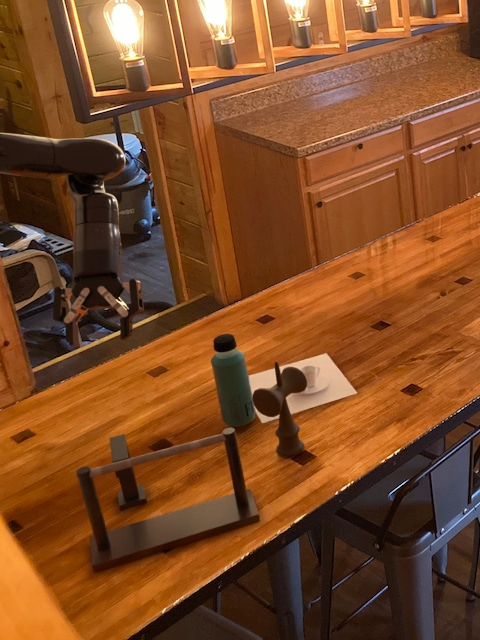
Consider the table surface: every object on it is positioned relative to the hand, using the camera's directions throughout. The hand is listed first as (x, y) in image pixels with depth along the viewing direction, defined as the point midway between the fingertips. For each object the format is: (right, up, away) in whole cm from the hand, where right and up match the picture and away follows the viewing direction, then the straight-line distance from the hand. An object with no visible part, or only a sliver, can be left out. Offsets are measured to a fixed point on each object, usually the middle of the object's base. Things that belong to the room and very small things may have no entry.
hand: (99, 342), depth 165 cm
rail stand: (+15, -32, -3) cm, 35 cm away
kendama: (+27, -23, +18) cm, 40 cm away
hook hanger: (+4, -29, +3) cm, 30 cm away
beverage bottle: (+14, -19, +26) cm, 36 cm away
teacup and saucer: (+22, -14, +39) cm, 47 cm away
